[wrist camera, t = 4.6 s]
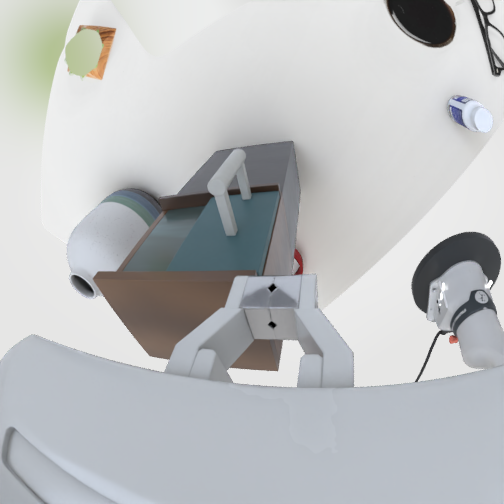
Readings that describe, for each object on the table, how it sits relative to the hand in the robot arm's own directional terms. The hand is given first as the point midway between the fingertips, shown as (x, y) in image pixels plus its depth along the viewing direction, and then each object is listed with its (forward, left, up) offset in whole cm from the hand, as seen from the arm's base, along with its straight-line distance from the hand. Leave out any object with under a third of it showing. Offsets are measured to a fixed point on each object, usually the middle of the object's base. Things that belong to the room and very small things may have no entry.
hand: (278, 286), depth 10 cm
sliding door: (-2, +6, -18) cm, 19 cm away
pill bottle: (0, -28, -40) cm, 49 cm away
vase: (-17, +39, -40) cm, 58 cm away
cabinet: (-11, +10, -39) cm, 42 cm away
